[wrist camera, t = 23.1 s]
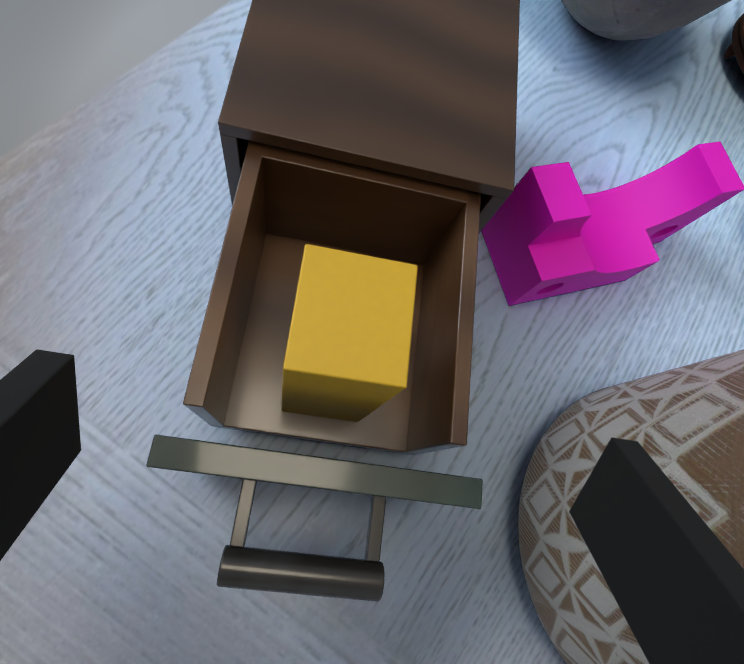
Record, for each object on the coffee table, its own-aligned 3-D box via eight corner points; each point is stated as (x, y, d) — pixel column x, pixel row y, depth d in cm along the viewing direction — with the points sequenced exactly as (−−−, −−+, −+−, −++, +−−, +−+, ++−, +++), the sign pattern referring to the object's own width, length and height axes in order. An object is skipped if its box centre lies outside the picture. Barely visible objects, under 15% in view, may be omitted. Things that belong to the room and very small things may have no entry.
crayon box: (280, 411, 27) (282, 369, 16) (295, 328, 28) (305, 242, 18) (358, 422, 27) (407, 388, 17) (368, 340, 29) (418, 264, 19)
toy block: (508, 305, 34) (569, 260, 27) (480, 229, 35) (531, 167, 28) (672, 270, 38) (763, 221, 31) (640, 202, 39) (720, 141, 32)
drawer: (414, 582, 26) (476, 630, 18) (167, 557, 24) (110, 597, 16) (440, 265, 33) (495, 193, 24) (245, 225, 31) (233, 133, 23)
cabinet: (444, 275, 34) (514, 190, 24) (236, 234, 31) (217, 122, 22) (459, 94, 39) (521, -38, 29) (281, 49, 37) (283, -111, 27)
